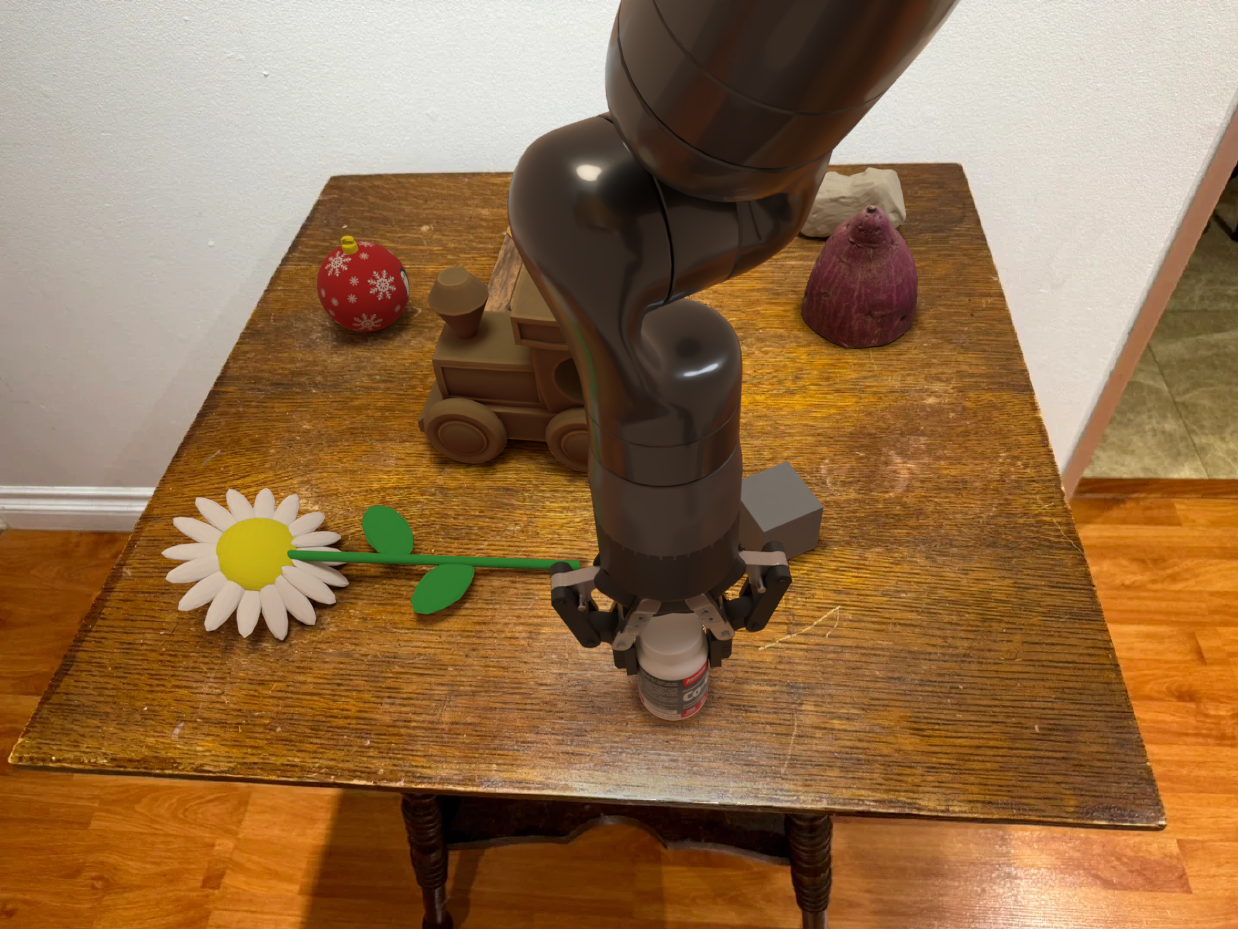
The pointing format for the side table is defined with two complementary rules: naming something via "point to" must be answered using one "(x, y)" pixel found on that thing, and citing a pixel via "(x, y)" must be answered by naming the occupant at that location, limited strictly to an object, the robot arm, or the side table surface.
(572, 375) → the wooden toy train
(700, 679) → the pill bottle
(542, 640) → the side table surface
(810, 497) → the grey block
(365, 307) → the christmas ornament
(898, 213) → the decorative stone
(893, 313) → the vegetable
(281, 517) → the decorative flower
